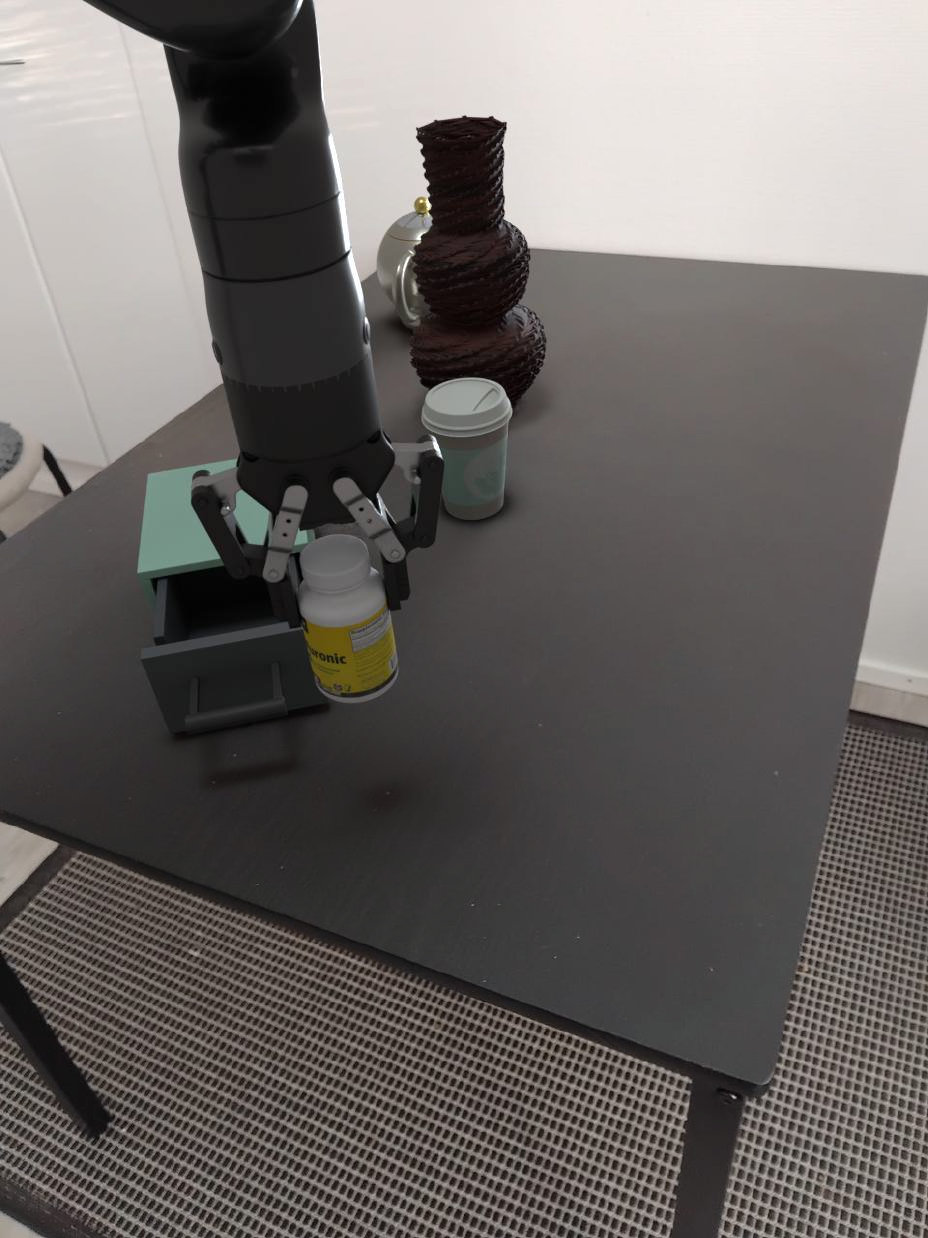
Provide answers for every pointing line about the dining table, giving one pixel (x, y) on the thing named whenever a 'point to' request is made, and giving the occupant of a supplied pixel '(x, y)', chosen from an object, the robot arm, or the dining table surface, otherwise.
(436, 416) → the coffee cup
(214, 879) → the dining table surface
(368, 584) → the supplement bottle
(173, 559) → the green drawer cabinet
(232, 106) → the robot arm
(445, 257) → the vase
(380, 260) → the teapot
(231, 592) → the grey pull-out drawer
